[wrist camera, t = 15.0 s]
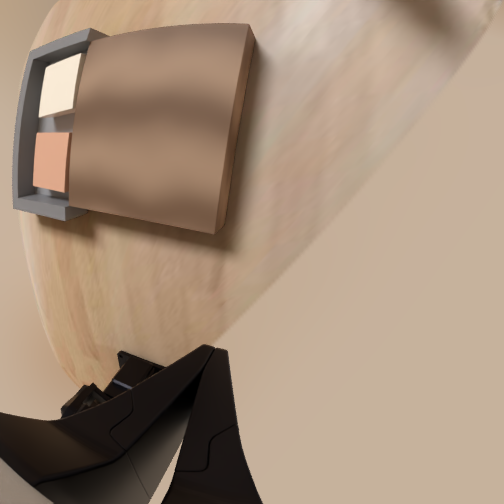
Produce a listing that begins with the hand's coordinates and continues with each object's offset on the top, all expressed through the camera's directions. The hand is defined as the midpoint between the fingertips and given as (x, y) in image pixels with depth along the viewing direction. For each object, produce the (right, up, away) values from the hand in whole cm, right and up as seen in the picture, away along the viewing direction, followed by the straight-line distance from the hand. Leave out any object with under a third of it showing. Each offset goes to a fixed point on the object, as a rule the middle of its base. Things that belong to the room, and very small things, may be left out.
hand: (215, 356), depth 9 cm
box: (-16, +15, +10) cm, 25 cm away
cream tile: (-15, +18, +9) cm, 25 cm away
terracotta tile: (-16, +12, +11) cm, 23 cm away
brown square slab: (-6, +13, +9) cm, 17 cm away
